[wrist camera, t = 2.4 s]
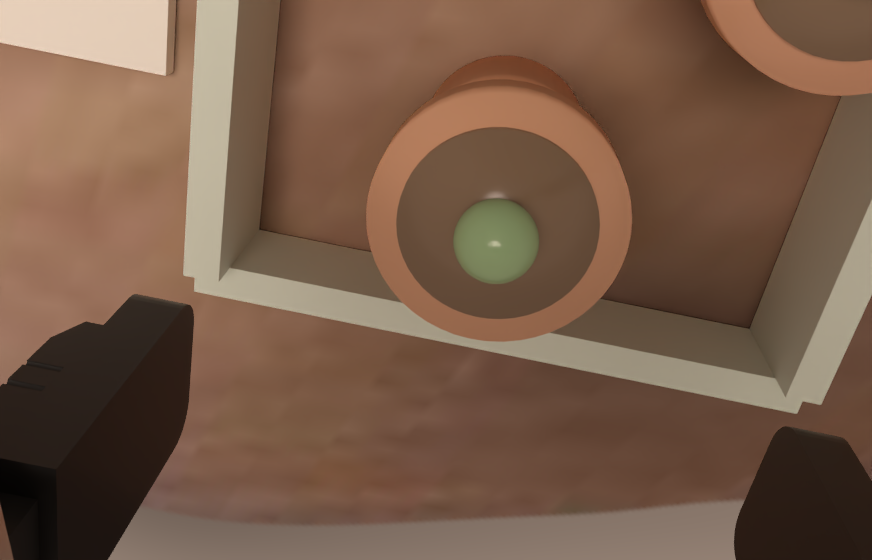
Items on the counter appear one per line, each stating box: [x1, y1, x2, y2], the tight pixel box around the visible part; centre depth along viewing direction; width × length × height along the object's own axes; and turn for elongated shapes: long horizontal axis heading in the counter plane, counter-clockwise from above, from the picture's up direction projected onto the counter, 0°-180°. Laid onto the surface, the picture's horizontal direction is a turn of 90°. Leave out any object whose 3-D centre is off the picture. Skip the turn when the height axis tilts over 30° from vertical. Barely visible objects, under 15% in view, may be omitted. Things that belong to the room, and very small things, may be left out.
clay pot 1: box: [366, 56, 632, 342], centre depth 21 cm, size 6×6×9 cm
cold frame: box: [183, 0, 872, 414], centre depth 15 cm, size 18×17×18 cm
